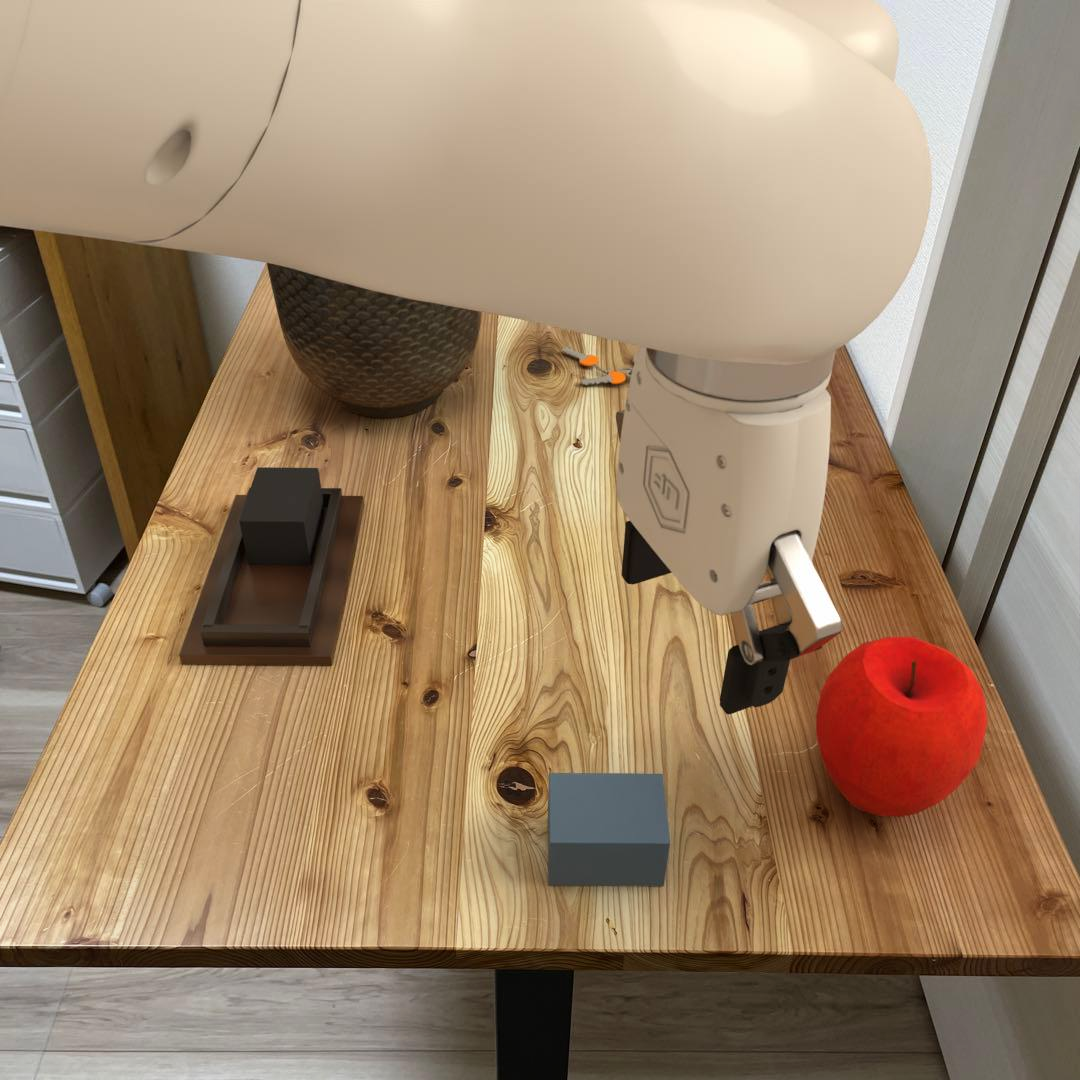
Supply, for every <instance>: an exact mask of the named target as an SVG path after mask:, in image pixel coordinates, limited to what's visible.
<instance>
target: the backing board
mask: <svg viewBox="0 0 1080 1080" xmlns="http://www.w3.org/2000/svg"><path fill="white" fill-rule="evenodd" d="M250 488H251V486H249V487H248V490H247V492H246V494H235V495H234V499H233V501H232V504H231V507H230V510H229V512H228V516H227V519H226V521H225V523H224V528H223V530H222V532H221V535H220V538H219V541H218V543H217V546H216V549H215V552H214V555H213V558H212V560H211V563H210V566H209V569H208V571H207V574H206V577H205V580H204V583H203V586H202V589H201V591H200V594H199V597H198V599H197V603H196V605H195V609H194V611H193V614H192V617H191V620H190V622H189V625H188V628H187V631H186V633H185V637H184V640H183V642H182V645H181V648H180V650H179V651H180V652H179V654H178V656H179V661H180V664H181V665H198V666H199V665H200V666H201V665H205V666H206V665H208V666H210V665H211V666H212V665H213V666H215V665H216V666H217V665H219V666H220V665H221V666H227V665H228V666H332V665H333V663H334V659H335V653H336V648H337V643H338V640H339V639H338V638H339V634H340V628H341V623H342V618H343V613H344V608H345V604H346V599H347V594H348V588H349V584H350V579H351V574H352V569H353V564H354V559H355V554H356V549H357V544H358V543H357V542H358V539H359V533H360V530H361V525H362V520H363V519H362V518H363V514H364V510H365V505H366V503H365V498H364V495H343V489H342V488H341V487H321V489H322V496H323V502H324V509H325V511H324V515H323V519H322V523H321V527H320V532H319V536H318V540H317V544H316V548H315V552H314V556H313V560H312V564H311V565H249V564H248V559H247V555H246V550H245V546H244V541H243V536H242V532H241V527H240V523H239V520H240V517H241V514H242V511H243V508H244V505H245V502H246V499H247V497H248V494H249V491H250Z"/></svg>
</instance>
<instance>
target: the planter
mask: <svg viewBox="0 0 1080 1080" xmlns="http://www.w3.org/2000/svg"><path fill="white" fill-rule="evenodd" d="M266 267H267V271H268V277H269V280H270V281H269V282H270V286H271V289H272V294H273V298H274V304H275V307H276V312H277V317H278V320H279V321H278V322H279V326H280V329H281V332H282V336H283V339H284V342H285V344H286V347H287V350H288V352H289V354H290V355H291V357H292V359H293V361H294V363H295V364H296V366H297V368H298V369H299V371H300V372H301V373H302V374H303V376H304V377H305V378H306V379H307V380H308V381H309V382H310V383H311V384H313V386H315V387H316V388H318V389H319V390H320V391H322V392H323V393H325V395H328V396H330V397H332V398H334V400H336V402H338V403H339V404H340V406H342V407H343V408H345V409H346V410H347V411H349V412H352V413H354V414H357V415H359V416H363V417H368V418H374V419H375V418H376V419H392V418H393V419H394V418H400V417H406V416H410V415H413V414H416V413H418V412H420V411H424V410H425V409H427V408H428V407H430V406H432V404H433V403H435V402H436V401H437V400H438V399H439V397H440V396H441V395H442V393H443V391H444V390H445V389H447V388H448V387H450V386H451V384H453V383H454V382H455V381H456V380H457V379H458V378H459V376H461V374H462V373H463V372H464V370H465V369H466V368H467V366H468V365H469V364H470V362H471V359H472V358H473V355H474V352H475V350H476V347H477V344H478V341H479V336H480V330H481V323H482V314H483V312H480V311H474V310H469V309H464V308H458V307H453V306H447V305H442V304H437V303H431V302H424V301H418V300H413V299H408V298H404V297H399V296H395V295H390V294H386V293H381V292H377V291H372V290H368V289H364V288H361V287H357V286H353V285H350V284H346V283H342V282H338V281H334V280H330V279H327V278H323V277H320V276H316V275H313V274H309V273H306V272H303V271H299V270H296V269H293V268H288V267H284V266H280V265H275V264H271V263H266Z"/></svg>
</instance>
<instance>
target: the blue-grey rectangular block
mask: <svg viewBox="0 0 1080 1080" xmlns="http://www.w3.org/2000/svg"><path fill="white" fill-rule="evenodd" d="M664 778H665V777H664V774H663V773H656V772H655V773H652V772H651V773H650V772H649V773H647V772H646V773H644V772H643V773H641V772H639V773H635V772H633V773H631V772H629V773H628V772H626V773H625V772H549V773H548V793H547V877H548V878H547V884H548V886H551V887H552V886H555V887H558V886H559V887H560V886H561V887H564V886H565V887H566V886H568V887H569V886H570V887H571V886H572V887H574V886H576V887H579V886H581V887H583V886H584V887H589V886H590V887H664V886H665V883H666V882H665V880H666V874H667V868H668V863H669V862H668V861H669V857H670V856H669V854H670V851H671V850H670V849H671V835H670V826H669V825H670V824H669V816H668V807H667V797H666V789H665V779H664Z"/></svg>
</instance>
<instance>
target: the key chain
mask: <svg viewBox="0 0 1080 1080" xmlns="http://www.w3.org/2000/svg"><path fill="white" fill-rule="evenodd" d="M560 352H562V353H564V354H567V355H569V356H571V357H574V358H576V359H578V360H579V361H578V363H579V364H580V365H582V366H585V367H594V368H595V369H597V370H598V371H599V372H601V373H603V374H605V376H604V375H603V376H598V377H590V378H582V379H580V384H581V385H583V386H584V385H585V386H588V385H599V384H608V383H610V384H611V385H619V384H622V383H624V382H625V381H626V380H629V379H631V374H632V369H633V367H630V366H623V367H620V368H618V370H617V371H614V370H613V371H609V370H606V369H603V368H602V367H600V366H599V365H598V364H599V362H600V360H599V357H597V356H596V355H594V354H586V353H581V352H580V350H575V349H571V348H570V347H566V346H565V347H562V348H561V350H560ZM636 355H637V354H635V355H634V356H633V363H634V362H635V359H636ZM622 371H624V372H622Z"/></svg>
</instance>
